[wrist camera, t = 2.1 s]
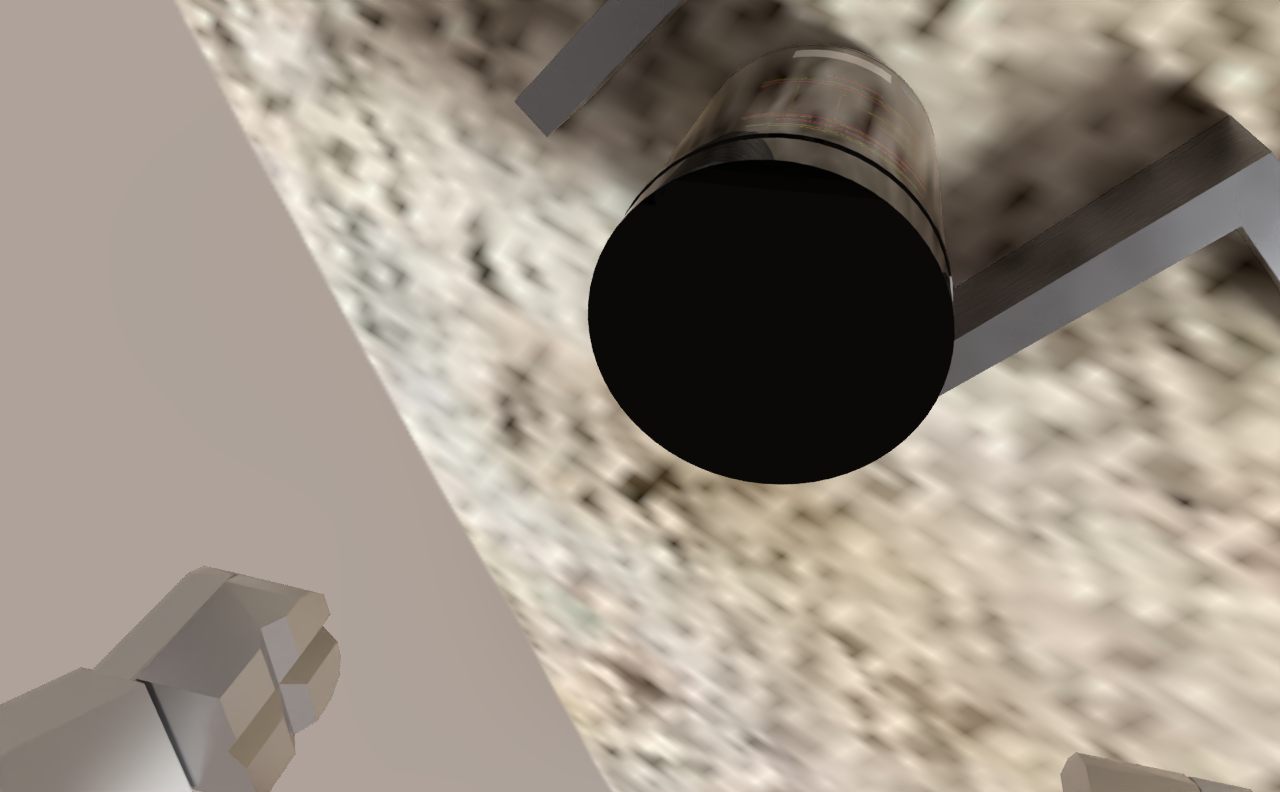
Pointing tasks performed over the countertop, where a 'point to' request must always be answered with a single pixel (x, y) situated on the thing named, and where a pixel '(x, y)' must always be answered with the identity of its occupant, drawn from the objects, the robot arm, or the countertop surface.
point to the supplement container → (784, 275)
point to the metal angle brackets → (1047, 265)
